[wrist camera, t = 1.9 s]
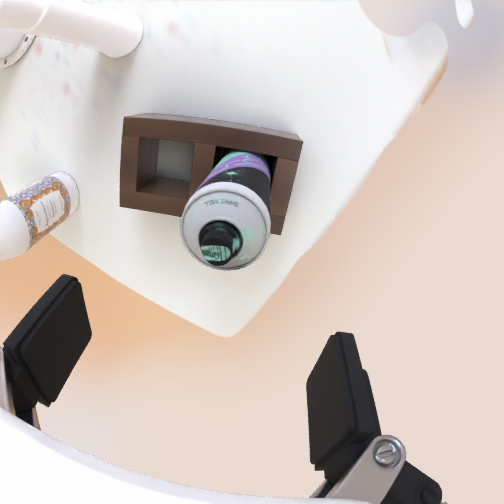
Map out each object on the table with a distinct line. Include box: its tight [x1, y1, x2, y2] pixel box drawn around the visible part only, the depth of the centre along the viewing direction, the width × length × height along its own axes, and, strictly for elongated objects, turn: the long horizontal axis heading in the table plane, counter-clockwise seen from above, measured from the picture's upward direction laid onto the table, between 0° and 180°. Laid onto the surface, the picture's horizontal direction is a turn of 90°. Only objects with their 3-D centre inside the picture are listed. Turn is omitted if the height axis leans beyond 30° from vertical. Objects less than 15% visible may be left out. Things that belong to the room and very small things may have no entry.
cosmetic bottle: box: [0, 0, 143, 58], centre depth 15 cm, size 6×6×22 cm
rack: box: [120, 113, 303, 235], centre depth 29 cm, size 10×18×6 cm, turn 80°
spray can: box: [180, 149, 271, 270], centre depth 23 cm, size 6×6×20 cm
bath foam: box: [0, 172, 79, 260], centre depth 26 cm, size 7×7×20 cm
